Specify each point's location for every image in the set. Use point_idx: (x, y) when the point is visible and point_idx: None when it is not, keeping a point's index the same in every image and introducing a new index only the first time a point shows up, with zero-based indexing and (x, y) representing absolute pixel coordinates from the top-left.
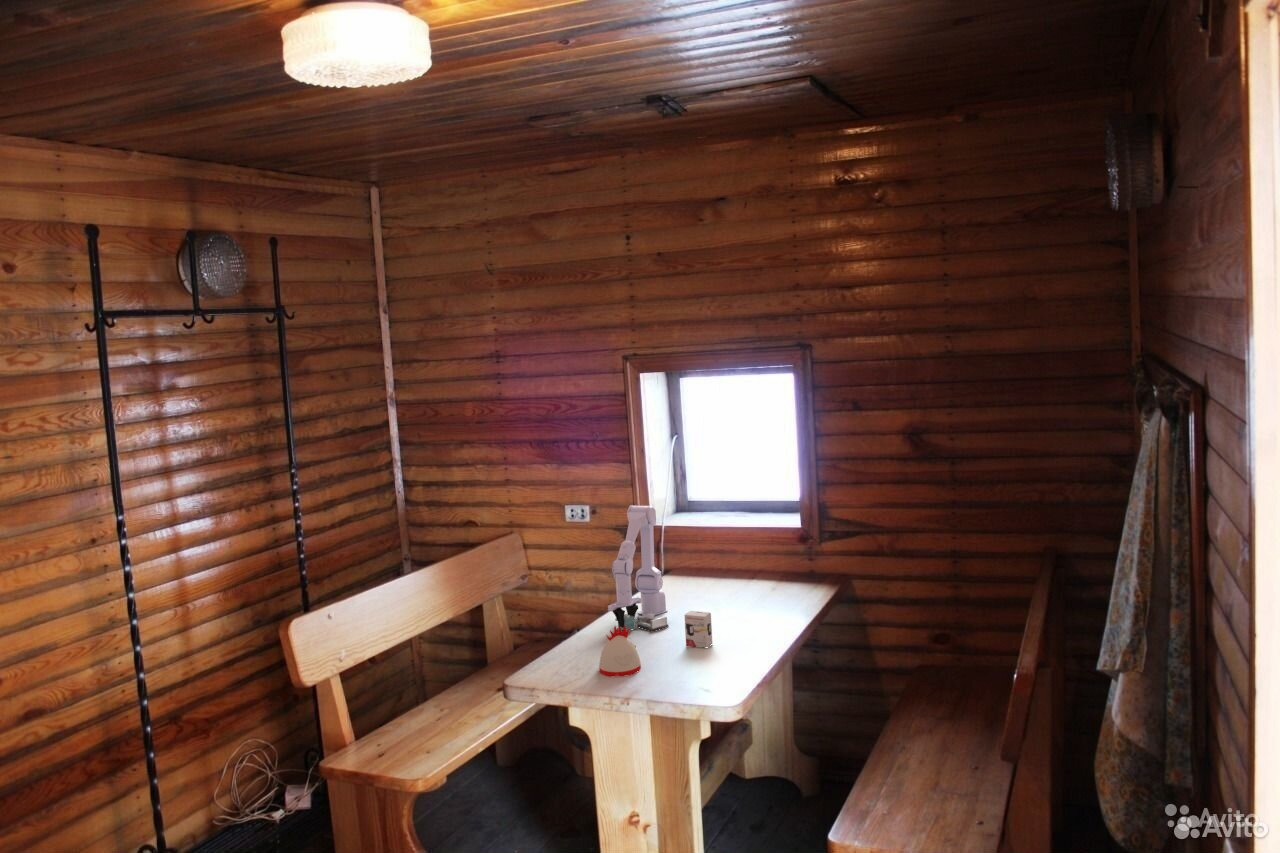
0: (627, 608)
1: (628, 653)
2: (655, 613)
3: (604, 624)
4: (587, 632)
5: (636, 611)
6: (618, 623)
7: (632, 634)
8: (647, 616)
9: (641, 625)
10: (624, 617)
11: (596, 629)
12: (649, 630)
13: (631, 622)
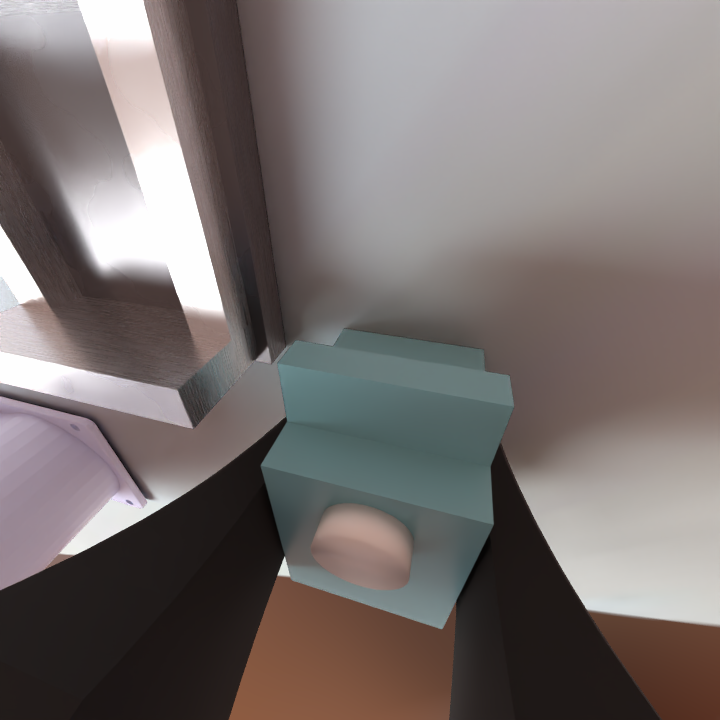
0: (225, 683)
1: None
2: (36, 418)
3: None
4: (674, 612)
5: (127, 528)
6: None
7: (570, 166)
8: (57, 350)
9: (244, 296)
10: (424, 560)
11: None
12: (233, 28)
13: (419, 375)
